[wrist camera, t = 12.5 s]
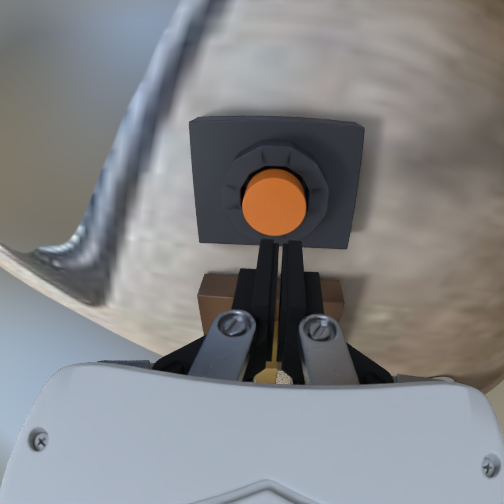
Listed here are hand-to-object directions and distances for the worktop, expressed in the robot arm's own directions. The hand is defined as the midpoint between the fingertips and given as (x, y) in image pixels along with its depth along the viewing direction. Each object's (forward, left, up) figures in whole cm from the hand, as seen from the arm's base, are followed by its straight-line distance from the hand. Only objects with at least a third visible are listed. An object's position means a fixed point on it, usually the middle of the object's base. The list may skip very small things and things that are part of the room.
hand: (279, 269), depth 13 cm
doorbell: (0, 0, -10) cm, 10 cm away
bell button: (0, 0, -7) cm, 7 cm away
